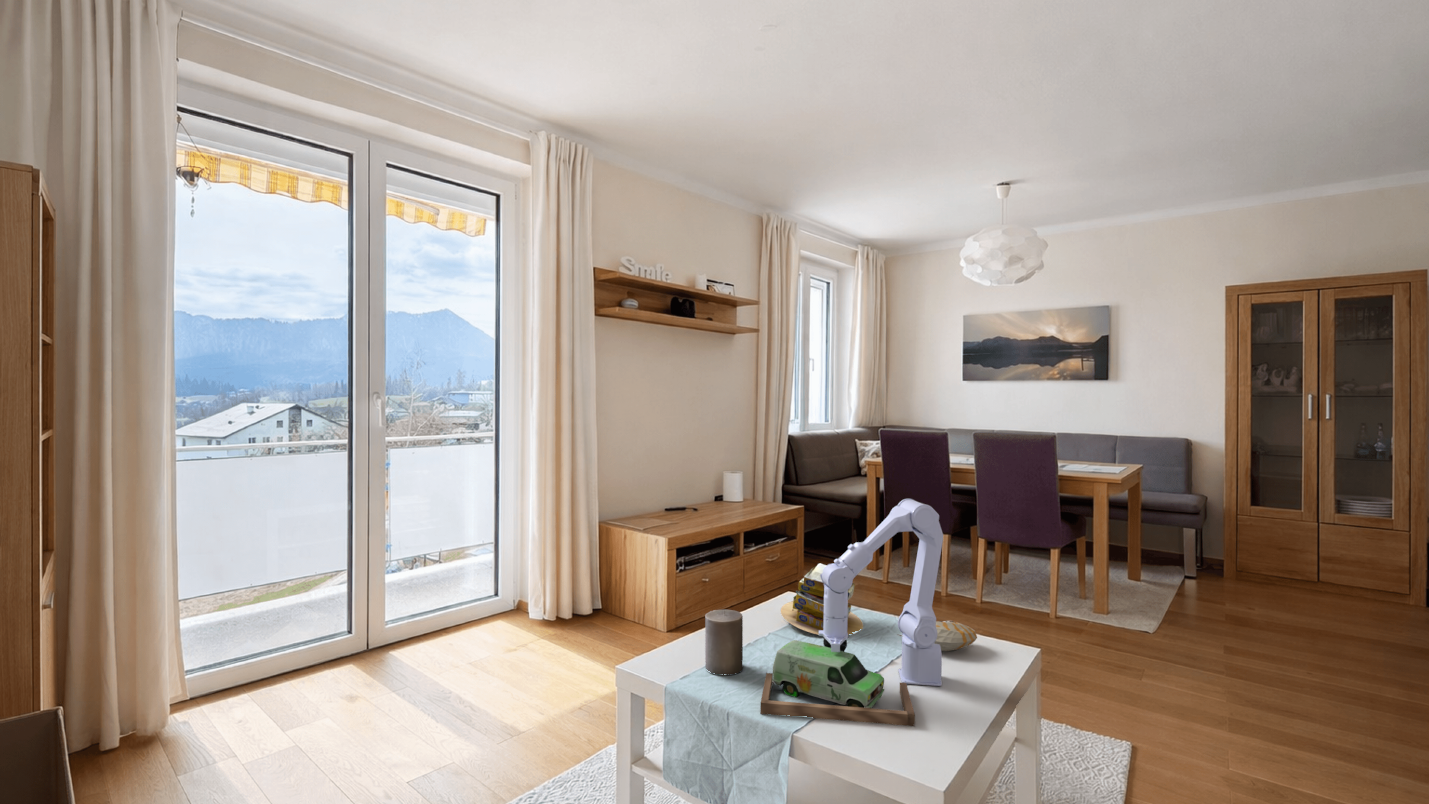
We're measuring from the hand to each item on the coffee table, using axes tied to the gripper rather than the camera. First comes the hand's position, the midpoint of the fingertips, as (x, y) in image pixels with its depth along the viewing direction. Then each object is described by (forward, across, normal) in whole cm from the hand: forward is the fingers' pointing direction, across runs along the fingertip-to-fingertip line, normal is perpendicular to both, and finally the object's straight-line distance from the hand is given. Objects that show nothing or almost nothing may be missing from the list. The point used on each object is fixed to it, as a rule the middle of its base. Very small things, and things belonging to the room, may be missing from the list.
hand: (834, 670), depth 169 cm
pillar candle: (+4, -5, -28) cm, 29 cm away
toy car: (+4, +7, -2) cm, 8 cm away
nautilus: (+4, -30, +28) cm, 41 cm away
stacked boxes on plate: (+4, -43, -4) cm, 43 cm away
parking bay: (+3, +10, 0) cm, 11 cm away
